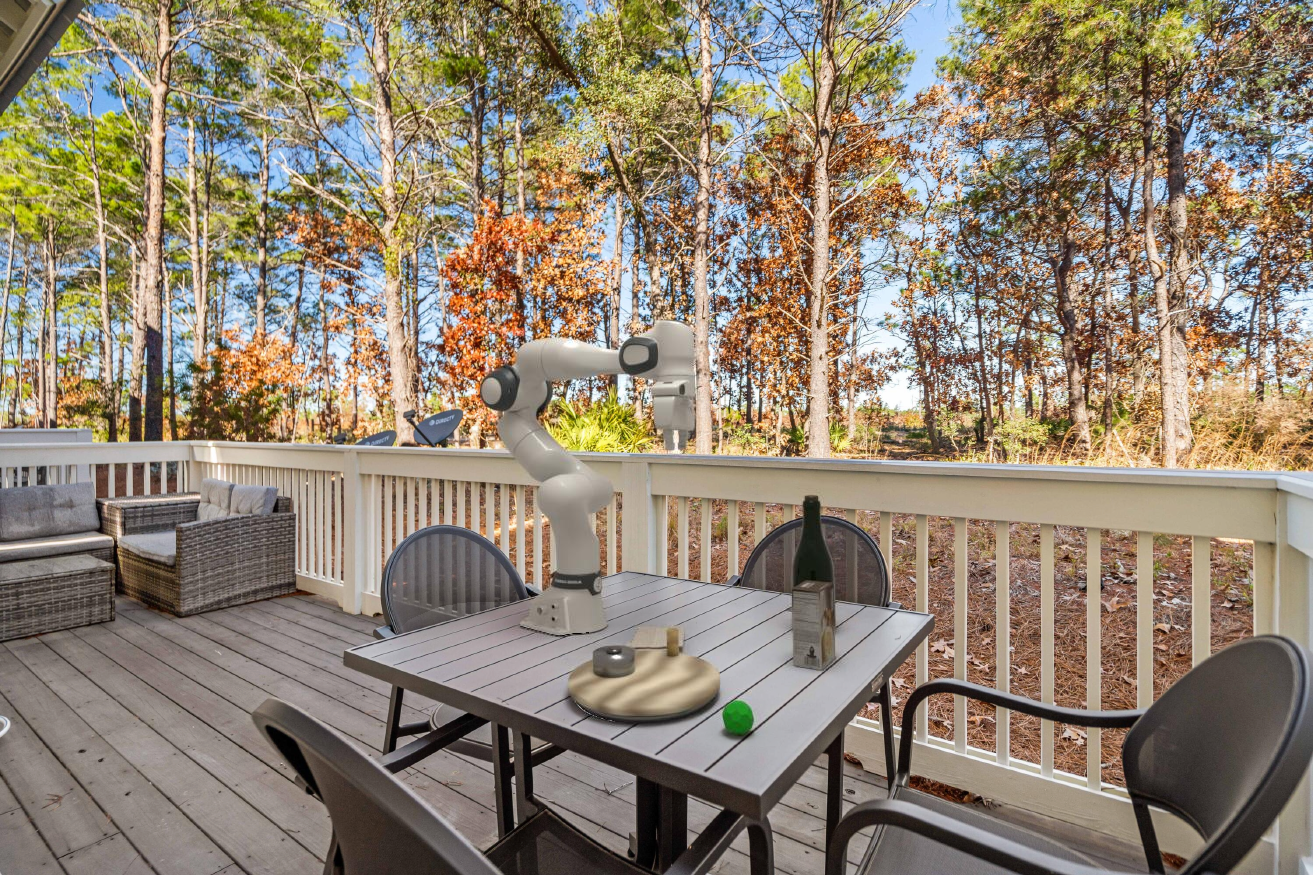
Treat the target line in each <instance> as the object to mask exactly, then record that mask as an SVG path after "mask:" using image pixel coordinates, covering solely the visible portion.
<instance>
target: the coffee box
mask: <svg viewBox="0 0 1313 875" xmlns="http://www.w3.org/2000/svg"><path fill="white" fill-rule="evenodd" d="M792 623H793V627H792V652H793V653H792V659H793V666H795V667H798V668H799V667H800V668H805V669H809V668H812V669H811V670H815V669H817V670H816V671H821V670H823V669H824V668H825V669H826V668H827V667H828V666H829V665H830V663H832V661H834V659H836V630H835V616H834V583H829V582H818V581H807V580H806V581H804V582H802V583H801V584H799V585H797V586H796V587H794V588H792V587H791V624H792ZM827 665H828V666H827ZM825 669H824V670H825ZM824 670H823V671H824Z"/></svg>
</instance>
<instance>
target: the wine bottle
mask: <svg viewBox="0 0 1313 875" xmlns="http://www.w3.org/2000/svg"><path fill="white" fill-rule="evenodd" d="M803 498H804V499H803V501H802V504H801V505H802V529H801V534H800V537H799V538H800V539H799V541H798V544H797V547H796V549H795V551H794V552H795V553H794V556H793V558H792V565H791V566H792V567H791V589H792V588H794V587H796V586H797V585H799V584H801V583H802V582H804V581H806V580H807V581H818V582H829V583H834V616H835V631H836V629H837V618H836V617H837V614H836V612H837V610H836V607H837V606H836V587H835V584H836V583H835V569H834V562H833V557H832V555H831V553H830V550H829V548H828V546H827V542H826V539H825V536H824V534H823V528H822V515H821V507H822V503H821V500H819V496H818V495H815V494H808V495H804V497H803ZM791 627H792V628H793V623H792V622H791Z"/></svg>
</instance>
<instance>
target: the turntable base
mask: <svg viewBox="0 0 1313 875" xmlns="http://www.w3.org/2000/svg"><path fill="white" fill-rule="evenodd" d="M622 646H628V647H631V648H633V646H632V642H629V643H628V642H627V643H623V645H622ZM715 696H716V695H715ZM715 696H714V697H713V698H712V699H711V700H709V701H708V702H706V703H704V704H702V705H700V706H698V707H695V708H692V709H689V710H685V711H682V712H677V713H672V714H665V715H656V716H623V715H614V714H608V713H603V712H599V711H595V710H593V709H590V708H587V707H585V706H583V705H581V704H579V703H578V702H576V703H577V704H578V705H579V706H580V707H581V708H582V709H583V710H585V711H586V712H588V713H590V714H592V715H594V716H597V717H599V718H598V719H600V718H603V719H605V720H604V721H607V720H612V721H615V722H614V723H618V722H621V723H620V724H627V725H629V724H631V725H632V724H633V725H649V724H660V723H661V724H662V723H668V722H673V721H678V720H682V719H686V718H688V717H692V716H694V715H697V714H698V713H700V712H702V711H704V710H705V709H707V708H708V707H709V706H710V705H711V704H712V703H713V701H714V699H715ZM576 703H575V704H576ZM594 716H593V717H594ZM597 717H596V718H597ZM603 719H602V720H603ZM612 721H611V722H612Z"/></svg>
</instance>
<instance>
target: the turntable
mask: <svg viewBox="0 0 1313 875" xmlns="http://www.w3.org/2000/svg"><path fill="white" fill-rule="evenodd" d="M567 681H568V682H567V683H568V686H567V687H568V694H569V695H570V697H571V698H572V700H574V702H575V701H576V702H578V703H579V704H581V705H583V706H585V707H587V708H590V709H593V710H595V711H599V712H603V713H608V714H614V715H623V716H656V715H665V714H672V713H677V712H682V711H685V710H689V709H692V708H695V707H698V706H700V705H702V704H704V703H706V702H708V701H709V700H711V699H712V698H713V697H714V696H716V695H717V694H718V693H719V691H720V688H721V674H720V671H719V669H717V668H716V667H715V665H713V664H712V663H710V662H709V661H707V660H704V659H702V658H700V657H696V656H693V655H690V654H686V653H679V642H678V629H675V628H670V629H667V651H635V672H634V673H632V674H631V675H628V676H625V677H620V678H603V677H599V676H597V675H595V674H594V673H593V658H592V659H590V660H588V661H586V662H583V663H582V664H580V665H579V666H576V667H575V668H574V669H573V670H572V671H571V673H570V674H569V676H568V680H567ZM714 698H715V697H714Z"/></svg>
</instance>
